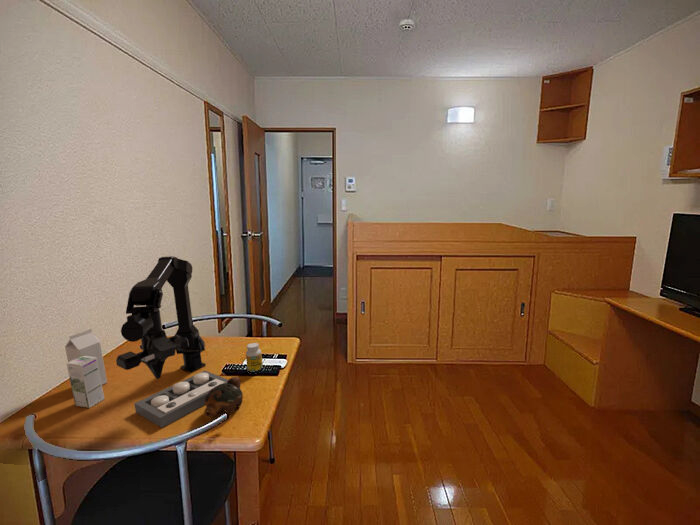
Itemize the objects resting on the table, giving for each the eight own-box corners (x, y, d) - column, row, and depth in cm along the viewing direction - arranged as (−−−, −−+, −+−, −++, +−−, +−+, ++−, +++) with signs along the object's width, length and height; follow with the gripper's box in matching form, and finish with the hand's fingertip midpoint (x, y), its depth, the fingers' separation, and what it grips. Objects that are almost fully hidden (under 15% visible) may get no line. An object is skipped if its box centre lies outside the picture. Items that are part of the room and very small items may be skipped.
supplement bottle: (259, 365, 145) (257, 340, 144) (265, 371, 141) (263, 345, 139) (245, 369, 143) (242, 344, 141) (250, 375, 138) (248, 349, 136)
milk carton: (107, 382, 137) (98, 330, 133) (86, 393, 131) (76, 338, 127) (94, 379, 140) (84, 327, 136) (72, 389, 134) (62, 335, 130)
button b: (170, 392, 124) (169, 386, 123) (184, 386, 128) (183, 380, 127) (179, 397, 121) (178, 390, 121) (193, 390, 125) (192, 384, 124)
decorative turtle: (252, 398, 124) (250, 374, 122) (227, 427, 109) (224, 400, 108) (224, 395, 126) (221, 372, 124) (195, 424, 111) (192, 397, 110)
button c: (190, 383, 129) (189, 377, 129) (203, 376, 133) (202, 371, 133) (199, 387, 127) (198, 381, 126) (212, 380, 130) (211, 374, 130)
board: (135, 412, 118) (134, 401, 117) (206, 378, 137) (205, 369, 136) (161, 427, 110) (160, 416, 109) (232, 389, 129) (231, 379, 128)
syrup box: (105, 399, 126) (97, 356, 124) (88, 409, 121) (80, 364, 118) (91, 397, 128) (83, 354, 125) (74, 407, 122) (65, 362, 120)
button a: (148, 407, 118) (147, 401, 118) (163, 399, 122) (163, 393, 122) (157, 412, 116) (156, 405, 115) (172, 404, 120) (171, 398, 119)
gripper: (131, 345, 102) (140, 400, 106) (196, 322, 117) (202, 372, 120) (111, 336, 109) (120, 389, 112) (174, 316, 124) (181, 363, 127)
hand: (158, 378), depth 118 cm, fingers closed
